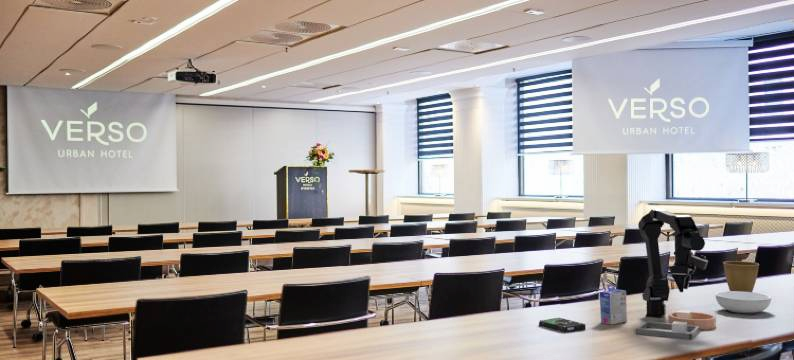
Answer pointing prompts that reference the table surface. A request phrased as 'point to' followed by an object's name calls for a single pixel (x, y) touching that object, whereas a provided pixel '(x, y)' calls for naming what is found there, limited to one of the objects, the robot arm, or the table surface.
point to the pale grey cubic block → (679, 327)
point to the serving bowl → (743, 301)
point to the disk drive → (562, 325)
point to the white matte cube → (684, 314)
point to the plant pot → (741, 275)
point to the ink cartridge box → (613, 306)
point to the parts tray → (643, 330)
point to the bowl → (695, 320)
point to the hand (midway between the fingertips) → (683, 290)
